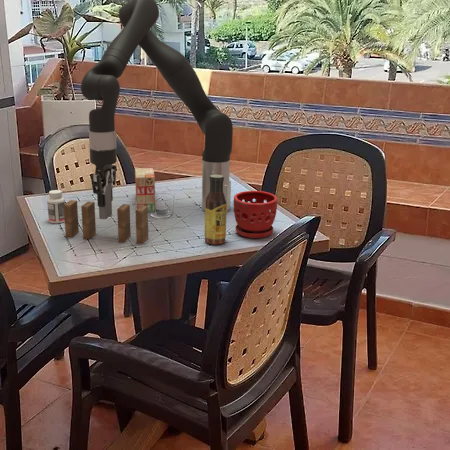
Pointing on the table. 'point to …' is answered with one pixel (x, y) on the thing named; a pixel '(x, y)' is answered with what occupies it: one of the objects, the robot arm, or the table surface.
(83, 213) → the walnut domino
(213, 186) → the sauce bottle
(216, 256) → the table surface
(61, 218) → the pill bottle
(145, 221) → the walnut domino
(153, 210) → the stack of blocks
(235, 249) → the table surface
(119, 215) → the walnut domino
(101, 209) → the charcoal domino
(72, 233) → the walnut domino
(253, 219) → the plant pot
